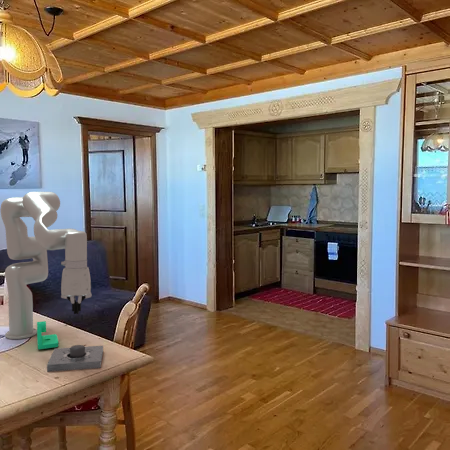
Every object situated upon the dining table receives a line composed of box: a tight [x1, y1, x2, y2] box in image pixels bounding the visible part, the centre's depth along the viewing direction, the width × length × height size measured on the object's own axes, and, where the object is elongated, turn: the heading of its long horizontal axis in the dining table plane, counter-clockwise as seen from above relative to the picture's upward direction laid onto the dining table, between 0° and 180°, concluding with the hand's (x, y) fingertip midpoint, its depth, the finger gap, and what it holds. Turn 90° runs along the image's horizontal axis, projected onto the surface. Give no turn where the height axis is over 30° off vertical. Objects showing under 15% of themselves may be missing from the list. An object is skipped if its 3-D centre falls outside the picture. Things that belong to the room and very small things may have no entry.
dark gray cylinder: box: [69, 344, 86, 358], centre depth 165 cm, size 5×5×5 cm
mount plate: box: [46, 345, 104, 373], centre depth 164 cm, size 16×18×2 cm
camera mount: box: [36, 320, 59, 350], centre depth 180 cm, size 12×8×10 cm, turn 24°
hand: (76, 313), depth 164 cm, fingers closed
